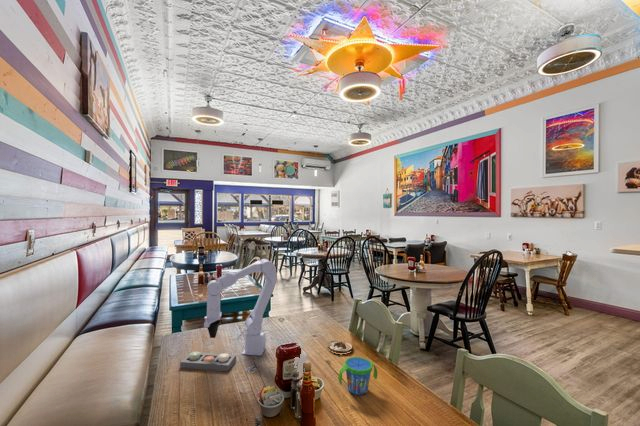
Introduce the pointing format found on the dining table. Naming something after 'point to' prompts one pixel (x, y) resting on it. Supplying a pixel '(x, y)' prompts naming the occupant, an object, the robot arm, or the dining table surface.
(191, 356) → the sage button
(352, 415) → the dining table surface
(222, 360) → the cream button
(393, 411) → the dining table surface
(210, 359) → the terracotta button
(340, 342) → the brown white round dish
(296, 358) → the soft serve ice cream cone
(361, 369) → the snack cup
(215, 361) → the button board
